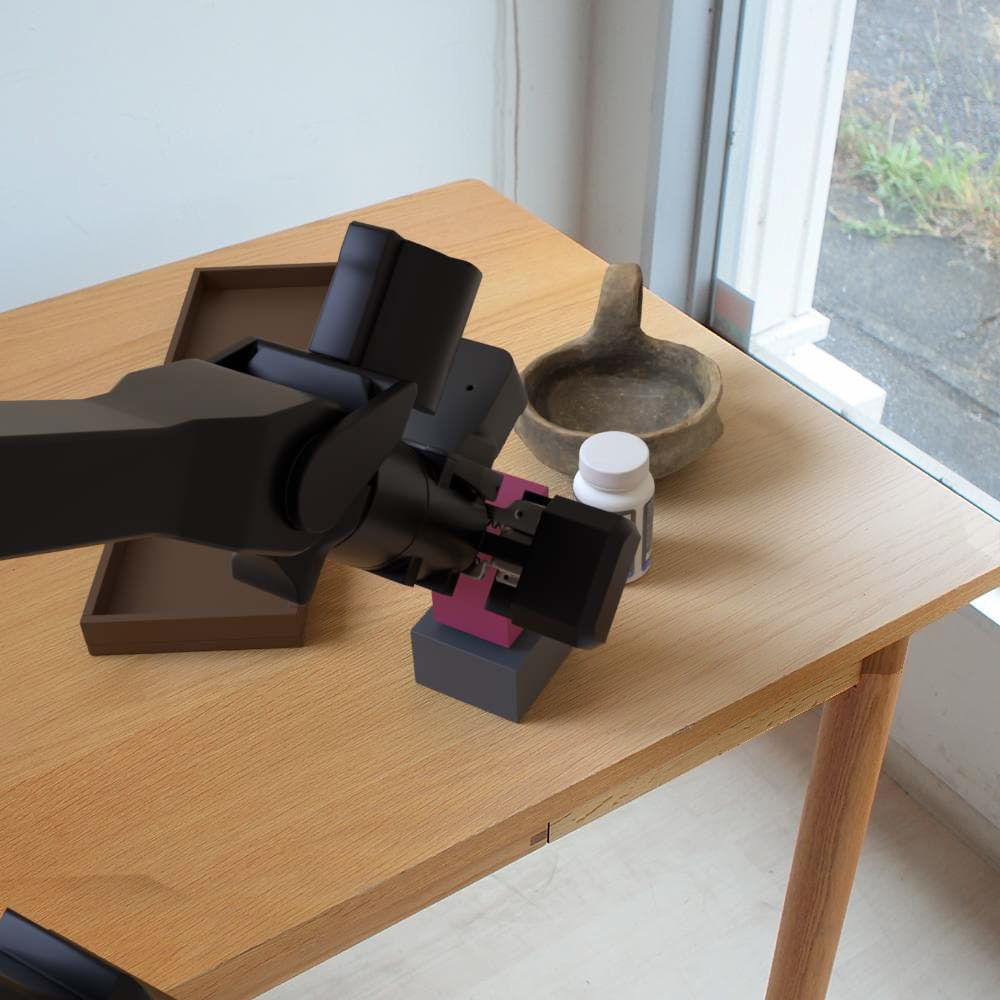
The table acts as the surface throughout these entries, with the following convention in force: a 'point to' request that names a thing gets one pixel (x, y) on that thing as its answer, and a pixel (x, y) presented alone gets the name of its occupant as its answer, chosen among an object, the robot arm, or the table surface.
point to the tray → (187, 566)
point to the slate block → (484, 666)
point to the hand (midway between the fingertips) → (503, 549)
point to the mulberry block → (484, 582)
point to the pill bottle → (619, 486)
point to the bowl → (621, 388)
